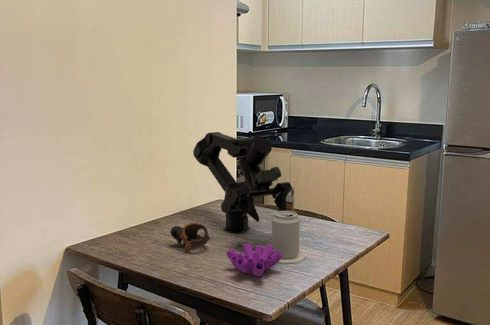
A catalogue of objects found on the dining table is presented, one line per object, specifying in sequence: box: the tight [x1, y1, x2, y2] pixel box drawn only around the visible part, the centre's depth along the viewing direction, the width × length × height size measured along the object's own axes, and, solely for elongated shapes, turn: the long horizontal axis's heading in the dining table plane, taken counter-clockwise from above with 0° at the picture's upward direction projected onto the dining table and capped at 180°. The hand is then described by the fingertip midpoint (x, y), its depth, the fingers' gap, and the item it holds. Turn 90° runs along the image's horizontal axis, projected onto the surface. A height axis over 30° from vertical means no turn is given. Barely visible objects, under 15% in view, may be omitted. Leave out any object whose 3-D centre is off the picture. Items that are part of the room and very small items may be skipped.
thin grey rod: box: [236, 241, 265, 251], centre depth 142 cm, size 11×1×1 cm, turn 56°
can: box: [271, 211, 301, 259], centre depth 135 cm, size 8×8×12 cm
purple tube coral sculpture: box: [225, 243, 282, 277], centre depth 126 cm, size 11×15×10 cm
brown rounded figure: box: [169, 222, 211, 253], centre depth 143 cm, size 12×10×8 cm
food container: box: [277, 187, 295, 212], centre depth 171 cm, size 12×6×10 cm, turn 172°
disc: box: [277, 251, 305, 265], centre depth 136 cm, size 10×10×1 cm
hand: (272, 218), depth 141 cm, fingers open, 9 cm apart
